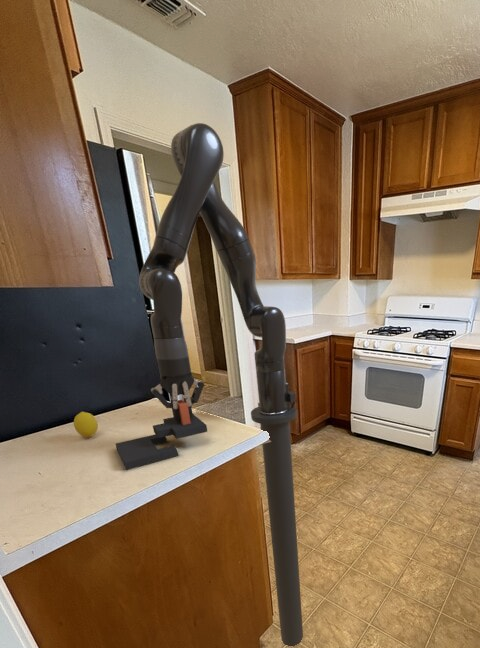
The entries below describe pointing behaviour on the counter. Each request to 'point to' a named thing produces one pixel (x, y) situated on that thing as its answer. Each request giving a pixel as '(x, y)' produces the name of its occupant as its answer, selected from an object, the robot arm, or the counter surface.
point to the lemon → (85, 424)
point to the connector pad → (180, 424)
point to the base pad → (144, 451)
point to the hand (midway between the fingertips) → (184, 419)
